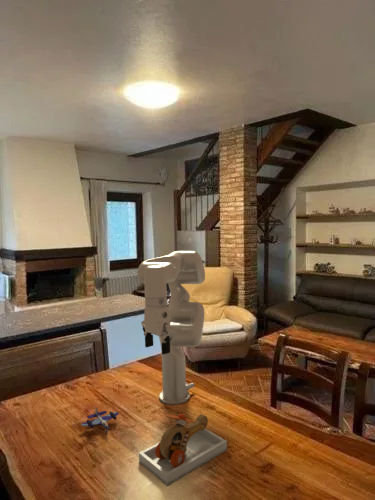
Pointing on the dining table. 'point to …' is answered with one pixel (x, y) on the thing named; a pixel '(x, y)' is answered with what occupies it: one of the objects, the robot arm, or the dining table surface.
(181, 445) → the toy helicopter
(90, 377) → the dining table surface
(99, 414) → the toy airplane
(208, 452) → the tray
